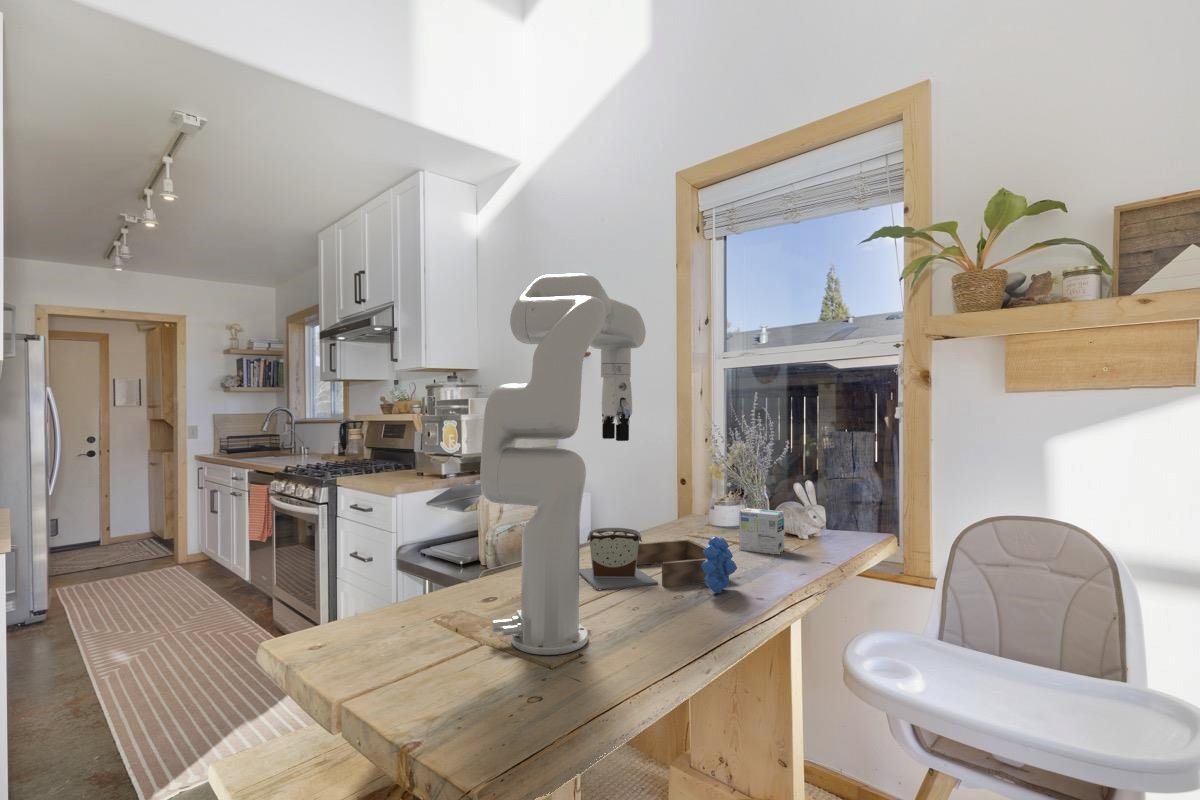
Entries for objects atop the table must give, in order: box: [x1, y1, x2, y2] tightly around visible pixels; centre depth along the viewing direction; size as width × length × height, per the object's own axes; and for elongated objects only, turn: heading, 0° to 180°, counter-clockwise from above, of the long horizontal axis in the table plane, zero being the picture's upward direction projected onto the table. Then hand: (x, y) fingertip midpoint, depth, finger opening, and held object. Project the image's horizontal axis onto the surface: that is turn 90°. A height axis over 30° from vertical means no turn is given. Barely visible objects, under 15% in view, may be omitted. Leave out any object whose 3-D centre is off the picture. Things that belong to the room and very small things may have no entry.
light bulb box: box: [738, 507, 785, 555], centre depth 160 cm, size 11×7×11 cm, turn 58°
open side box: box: [637, 538, 730, 588], centre depth 139 cm, size 16×19×5 cm
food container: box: [586, 527, 643, 578], centre depth 135 cm, size 12×6×10 cm, turn 90°
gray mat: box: [579, 567, 659, 591], centre depth 133 cm, size 14×15×1 cm
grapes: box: [701, 536, 738, 594], centre depth 122 cm, size 12×7×12 cm, turn 144°
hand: (615, 439), depth 149 cm, fingers open, 9 cm apart
